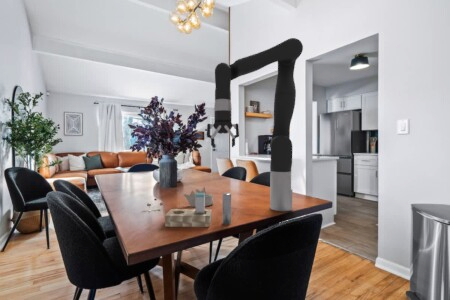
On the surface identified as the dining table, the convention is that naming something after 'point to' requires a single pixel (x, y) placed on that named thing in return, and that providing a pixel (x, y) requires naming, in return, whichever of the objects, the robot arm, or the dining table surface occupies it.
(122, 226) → the dining table surface
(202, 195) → the square bit
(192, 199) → the grey spiky piece
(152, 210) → the diorama
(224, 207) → the round bit
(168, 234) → the dining table surface
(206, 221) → the socket block
